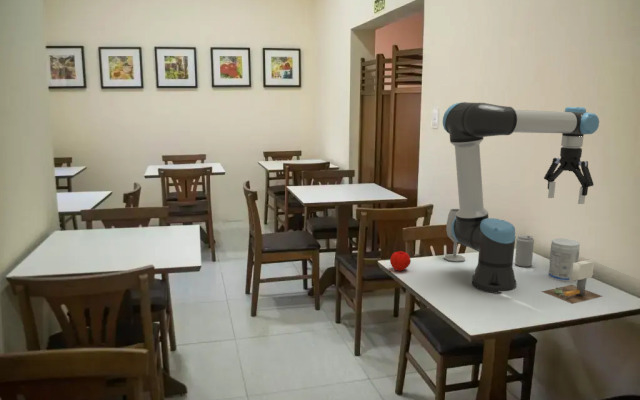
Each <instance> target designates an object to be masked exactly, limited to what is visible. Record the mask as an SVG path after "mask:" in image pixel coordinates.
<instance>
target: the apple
mask: <svg viewBox="0 0 640 400" xmlns="http://www.w3.org/2000/svg"><path fill="white" fill-rule="evenodd" d="M389 261H390V265H391V268H393V269H394V270H395V271H396V270H398V271H397V272H402V270H403V271H405V270H407V268H408V267H409V266H410V264H411V262H412V260H411V257H410V255H409V254H408V253H407V252H405V251H401V250H399V251H396V252H393V253H392V254H391V256H390V258H389Z"/></svg>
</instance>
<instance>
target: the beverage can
mask: <svg viewBox="0 0 640 400" xmlns="http://www.w3.org/2000/svg"><path fill="white" fill-rule="evenodd" d="M534 242H535V240H534V237H533V235H528V234H518V235H517V238H516V242H515V258H514V259H515V260H514V263H515V264H516V265H517V266H519V267H521V268H524V267H525V268H527V267H530V266H532V264H533V256H534V244H535V243H534Z"/></svg>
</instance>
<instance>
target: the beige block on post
mask: <svg viewBox="0 0 640 400" xmlns="http://www.w3.org/2000/svg"><path fill="white" fill-rule="evenodd" d="M594 264H595V261H594V260H592V259H586V260H581V261H580V260H579V261H578V262H575V263H573V269H572V279H574V280H576V287H577V288H576V290H572V291H567V292H564V295H565V296H571V295H575V294H577V295H581V296H584V295H585V290H586V285H587V279H590V278H593V277H594V275H593V273H594V266H595V265H594Z"/></svg>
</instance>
